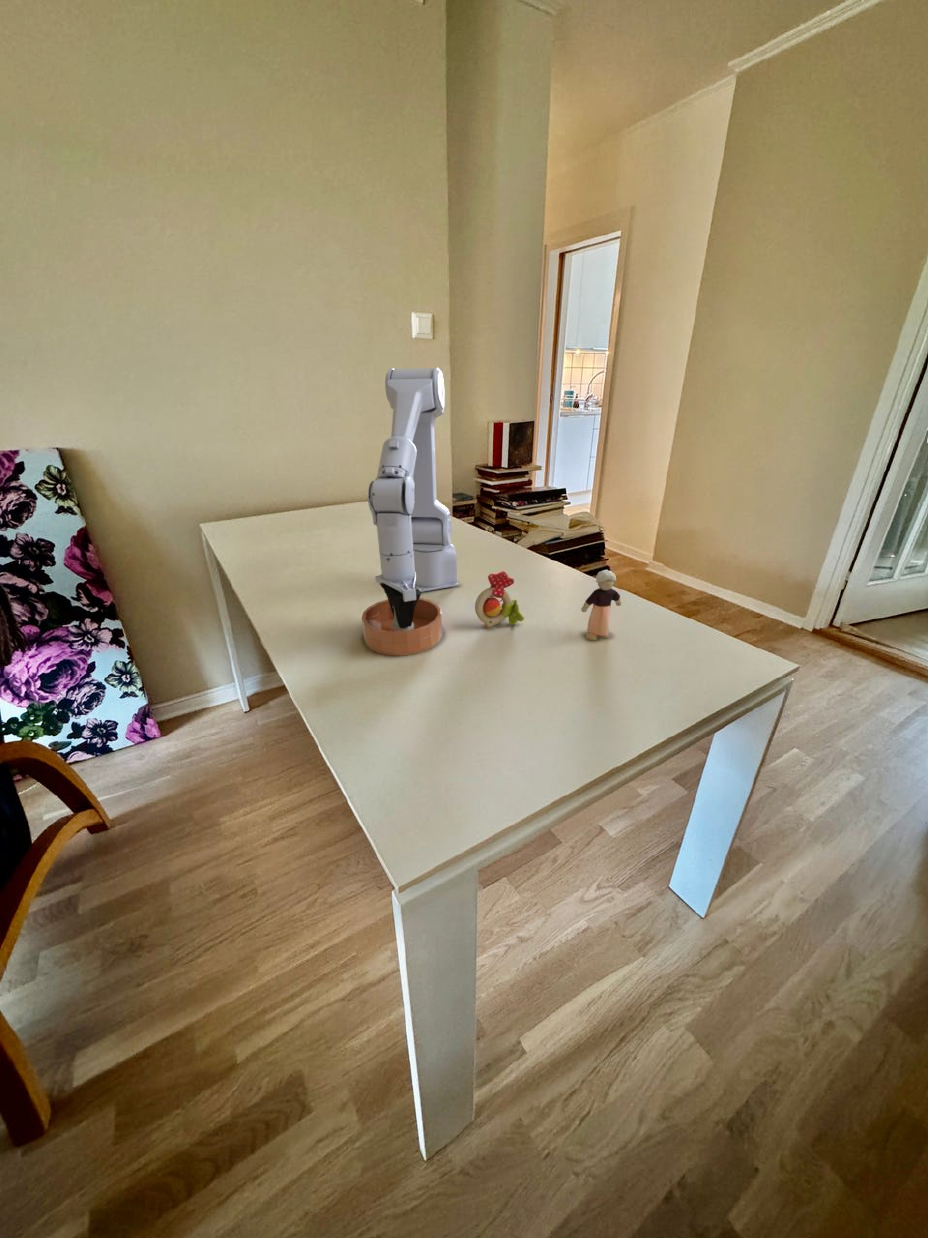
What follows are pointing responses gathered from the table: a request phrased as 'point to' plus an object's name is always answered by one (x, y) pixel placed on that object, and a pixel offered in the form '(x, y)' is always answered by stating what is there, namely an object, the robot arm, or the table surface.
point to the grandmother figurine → (601, 605)
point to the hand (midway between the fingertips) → (402, 621)
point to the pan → (402, 642)
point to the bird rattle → (497, 602)
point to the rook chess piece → (396, 626)
